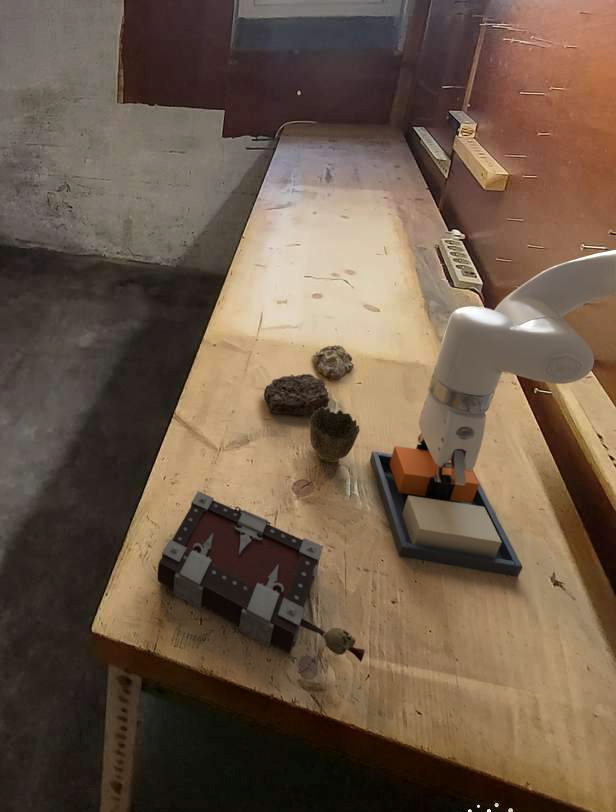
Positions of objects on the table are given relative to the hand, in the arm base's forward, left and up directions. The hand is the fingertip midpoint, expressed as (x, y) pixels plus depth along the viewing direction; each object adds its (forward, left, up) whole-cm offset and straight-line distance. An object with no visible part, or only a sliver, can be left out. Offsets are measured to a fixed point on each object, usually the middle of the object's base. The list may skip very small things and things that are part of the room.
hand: (430, 480), depth 88 cm
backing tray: (0, +4, -2) cm, 5 cm away
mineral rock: (+9, -33, -3) cm, 34 cm away
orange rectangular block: (0, 0, -1) cm, 1 cm away
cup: (+14, -5, -3) cm, 15 cm away
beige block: (0, +9, -2) cm, 9 cm away
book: (+26, +23, -3) cm, 35 cm away
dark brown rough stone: (+18, -19, -3) cm, 26 cm away
